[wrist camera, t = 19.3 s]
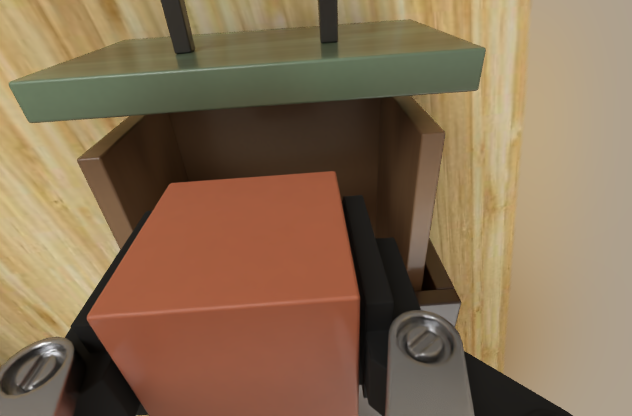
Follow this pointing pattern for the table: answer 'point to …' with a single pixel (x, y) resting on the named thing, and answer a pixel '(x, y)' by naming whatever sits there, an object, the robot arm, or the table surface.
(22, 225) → the table surface
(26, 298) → the table surface
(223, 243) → the block
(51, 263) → the table surface
